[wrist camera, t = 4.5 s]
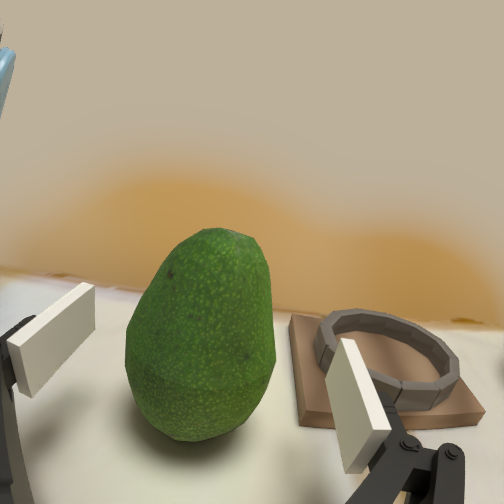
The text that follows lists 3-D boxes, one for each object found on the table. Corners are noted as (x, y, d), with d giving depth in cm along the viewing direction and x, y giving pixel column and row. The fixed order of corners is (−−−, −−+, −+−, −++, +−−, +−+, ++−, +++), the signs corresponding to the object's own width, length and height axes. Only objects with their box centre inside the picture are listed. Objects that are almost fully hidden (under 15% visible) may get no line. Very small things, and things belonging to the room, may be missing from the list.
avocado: (275, 419, 19) (329, 243, 16) (198, 492, 13) (240, 273, 9) (184, 365, 23) (207, 205, 20) (100, 408, 16) (95, 210, 13)
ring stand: (299, 425, 19) (315, 386, 18) (288, 326, 32) (297, 295, 31) (476, 424, 19) (497, 392, 18) (421, 345, 32) (432, 318, 31)
